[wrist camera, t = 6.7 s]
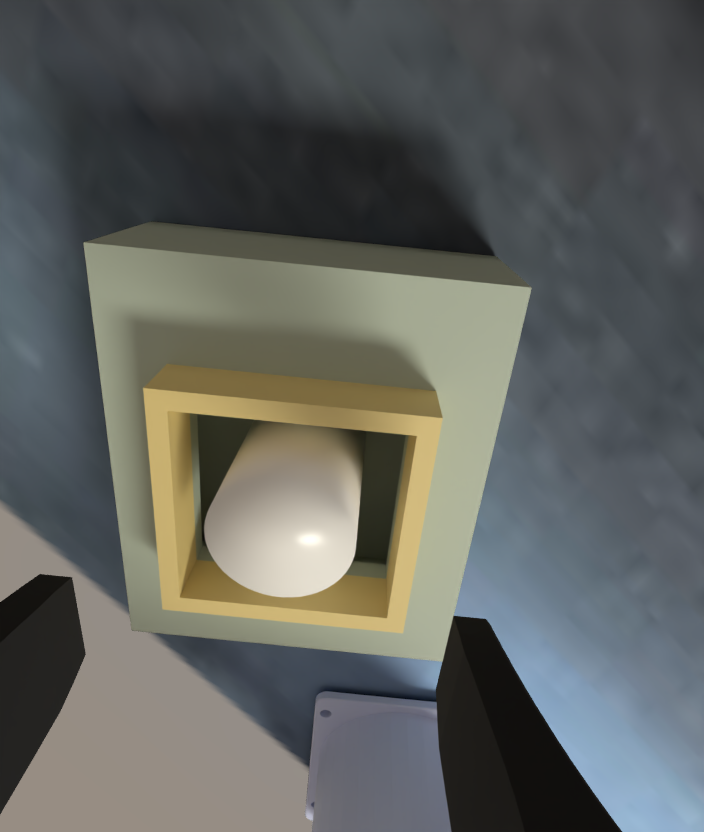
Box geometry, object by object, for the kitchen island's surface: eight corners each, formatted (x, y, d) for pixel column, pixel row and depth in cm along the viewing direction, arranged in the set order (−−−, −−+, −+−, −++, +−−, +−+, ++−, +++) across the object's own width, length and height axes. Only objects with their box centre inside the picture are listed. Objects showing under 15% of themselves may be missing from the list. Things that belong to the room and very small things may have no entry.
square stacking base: (431, 573, 21) (448, 704, 16) (173, 548, 21) (110, 671, 16) (496, 256, 16) (551, 305, 11) (151, 221, 16) (46, 253, 11)
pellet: (364, 481, 18) (354, 601, 13) (259, 475, 19) (211, 592, 14) (367, 382, 17) (357, 479, 12) (252, 378, 17) (196, 470, 12)
